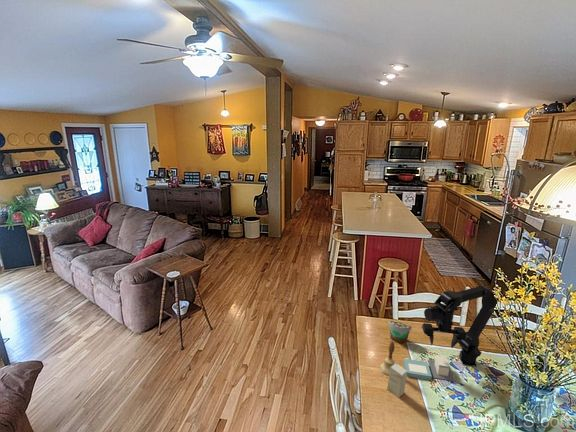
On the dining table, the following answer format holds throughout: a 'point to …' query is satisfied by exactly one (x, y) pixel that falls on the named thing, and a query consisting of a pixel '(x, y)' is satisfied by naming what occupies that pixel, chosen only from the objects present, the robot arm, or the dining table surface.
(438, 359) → the stub
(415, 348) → the dining table surface
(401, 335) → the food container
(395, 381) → the skincare box
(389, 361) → the hand bell
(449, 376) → the mat
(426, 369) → the ticket book
